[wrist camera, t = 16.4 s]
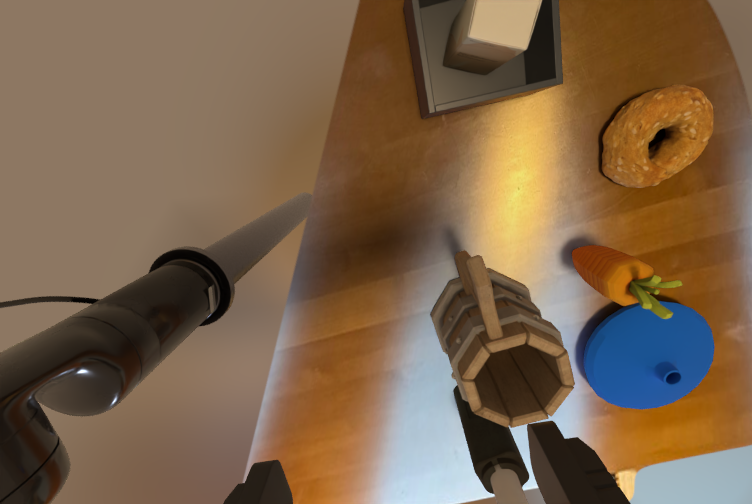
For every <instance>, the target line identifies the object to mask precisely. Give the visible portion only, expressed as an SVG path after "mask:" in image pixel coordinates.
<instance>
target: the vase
mask: <svg viewBox="0 0 752 504" xmlns="http://www.w3.org/2000/svg"><path fill="white" fill-rule="evenodd" d="M659 302H660V304H661V305H662V306H664V307H666V308H667V309H668V310H670V311H671V312H673V315H672V317H671V318H668V319H662V318H661V317H659V316H658V315H656V314H655V313H653V312H652V311H651V310H650V309H644V308H642V307H641V305H640V303H639V302H638V303H635V304H632V305H629V306H627V307H624V308H621V309H620V310H618V311H616V312H615V313H613V314H611V315H610V316H608V317H607V318H606V319H605V320H604V321H603V322H602V323H601V324H600V325H599V326H598V327H597V328H596V329H595V330H594V332H593V333H592V335H591V337H590V338H589V340H588V342H587V345H586V348H585V351H584V369H585V373H586V376H587V379H588V382H589V385H590V386H591V387H592V389H593V390H594V391H595V392H596V394H597V395H598V396H600V397H601V398H603V399H604V400H605V401H607V402H608V403H611V404H614V405H617V406H620V407H624V408H635V409H648V408H657V407H660V406H663V405H667V404H670V403H673V402H674V401H676V400H678V399H680V398H682V397H684V396H685V395H687V394H688V393H689V392H690V391H692V390H693V389H694V388H695V387H696V386H698V385H699V383H700V382H701V381H702V379H703V378H704V377H705V375H706V374H707V372H708V370H709V368H710V366H711V363H712V361H713V354H714V340H713V336H712V331H711V328H710V327H709V325H708V324H707V322H706V320H705V319H704V318H703V317H702V316H701V315H700V314H698V313H697V312H696V311H695V310H693V309H692V308H689V307H686V306H684V305H681V304H678V303H673V302H665V301H659Z"/></svg>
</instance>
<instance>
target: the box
mask: <svg viewBox="0 0 752 504" xmlns="http://www.w3.org/2000/svg"><path fill="white" fill-rule="evenodd" d="M541 3H542V0H466V2H465V3H464V5H463V6H462V8H461V10H460V11H459V13H458V14H457V16H456V18H455V19H454V21H453V22H452V25H451V29H450V33H449V37H448V41H447V45H446V50H445V55H444V60H443V66H445V67H449V68H453V69H458V70H462V71H467V72H471V73H476V74H481V75H487V74H489V73H490V72H492V71H493V70H495V69H497V68H498V67H500V66H501V65H503V64H504V63H506V62H508V61H509V60H511V59H512V58H514V57H515V56H517V55H519V54H520V53H522V52H523V51H525V50H526V49H527V47H528V44H529V41H530V38H531V35H532V32H533V29H534V26H535V22H536V19H537V16H538V12H539V9H540V6H541Z"/></svg>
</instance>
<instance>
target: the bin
mask: <svg viewBox="0 0 752 504" xmlns="http://www.w3.org/2000/svg"><path fill="white" fill-rule="evenodd" d="M465 2H466V0H404V15H405V21H406V27H407V33H408V39H409V45H410V51H411V57H412V63H413V70H414V76H415V82H416V88H417V94H418V100H419V106H420V112H421V118H422V119H424V118H429V117H433V116H438V115H442V114H446V113H451V112H455V111H460V110H464V109H469V108H473V107H477V106H482V105H486V104H491V103H495V102H500V101H504V100H508V99H513V98H517V97H522V96H526V95H530V94H533V93H536V92H539V91H542V90H545V89H548V88H551V87H554V86H557V85H560V84H563V73H562V54H561V35H560V16H559V0H542V3H541V6H540V9H539V12H538V16H537V19H536V22H535V26H534V29H533V32H532V35H531V38H530V41H529V44H528V47H527V49H526V50H525V51H523V52H522V53H520V54H519V55H517V56H515V57H514V58H512V59H511V60H509V61H508V62H506V63H504V64H503V65H501V66H500V67H498V68H497V69H495V70H493V71H492V72H490V73H489V74H487V75H481V74H476V73H471V72H467V71H462V70H458V69H453V68H449V67H445V66H443V60H444V55H445V50H446V45H447V41H448V37H449V33H450V29H451V25H452V22H453V21H454V19H455V18H456V16H457V14H458V13H459V11H460V10H461V8H462V6H463V5H464V3H465Z"/></svg>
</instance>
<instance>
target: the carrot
mask: <svg viewBox="0 0 752 504" xmlns="http://www.w3.org/2000/svg"><path fill="white" fill-rule="evenodd" d="M572 259H573V263H574V266H575V269H576V270H577V272H578V273H579V275H580V276H581V277H582V278H583V279H584V281H585V282H587V283H588V284H589V285H590V286H592V287H593V288H594V289H595V290H597V291H598V292H599V293H601V294H602V295H603V296H605V297H607V298H609V299H611V300H613V301H614V302H616V303H618V304H620V305H623V306H627V305H630V304H634V303H638V302H639V303H640V305H641V307H642V308H644V309H650V310H651V311H652V312H653V313H655V314H656V315H658V316H659V317H661V318H662V319H668V318H671V317H672V315H673V312H671V311H670V310H668V309H667V308H666V307H664V306H662V305H661V304H660V302H659V301H657V300H656V299H655V298H654V297H653V296H651V295H650V293H653V294H659V290H658V289H654V288H655V287H658V288H673V287H678V286H681V285H682V282H681V281H680V280H677V281H670V282H660V281H661V278H660V277H659V276H656V275H655V274H654V269H653V268H652V267H651V266H649V265H647V264H645V263H643V262H642V261H640V260H638V259H636V258H634V257H632V256H630V255H627V254H625V253H622V252H620V251H617V250H614V249H612V248H608V247H603V246H596V245H589V246H583V247H580V248H576V249H574V250H573V252H572Z"/></svg>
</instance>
